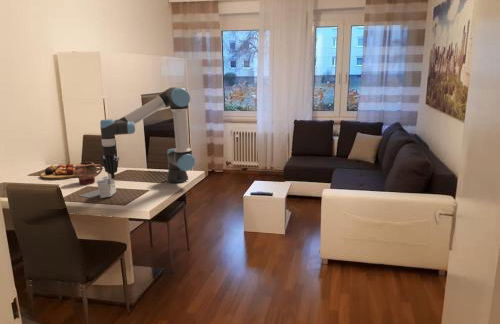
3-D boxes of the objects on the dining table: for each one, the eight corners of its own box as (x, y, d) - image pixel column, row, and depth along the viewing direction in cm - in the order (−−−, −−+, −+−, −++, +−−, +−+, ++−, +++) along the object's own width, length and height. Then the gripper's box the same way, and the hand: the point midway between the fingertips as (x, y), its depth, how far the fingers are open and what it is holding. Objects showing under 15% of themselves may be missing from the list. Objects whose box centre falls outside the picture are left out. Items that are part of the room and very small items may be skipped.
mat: (114, 190, 246) (113, 190, 246) (90, 198, 230) (90, 198, 230) (102, 188, 251) (101, 188, 251) (78, 195, 235) (78, 195, 235)
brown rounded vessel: (98, 178, 278) (96, 159, 275) (107, 181, 270) (105, 161, 267) (71, 183, 263) (68, 164, 260) (79, 187, 255) (76, 166, 252)
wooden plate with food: (90, 176, 284) (89, 165, 283) (42, 182, 267) (41, 171, 266) (82, 169, 311) (81, 159, 309) (38, 174, 293) (37, 163, 292)
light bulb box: (106, 193, 241) (102, 176, 238) (117, 191, 241) (113, 175, 238) (100, 198, 230) (96, 181, 228) (111, 196, 230) (107, 179, 228)
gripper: (121, 145, 227) (124, 183, 232) (106, 143, 233) (109, 181, 238) (111, 147, 220) (115, 186, 225) (96, 145, 226) (99, 184, 231)
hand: (112, 183), depth 231 cm, fingers closed
